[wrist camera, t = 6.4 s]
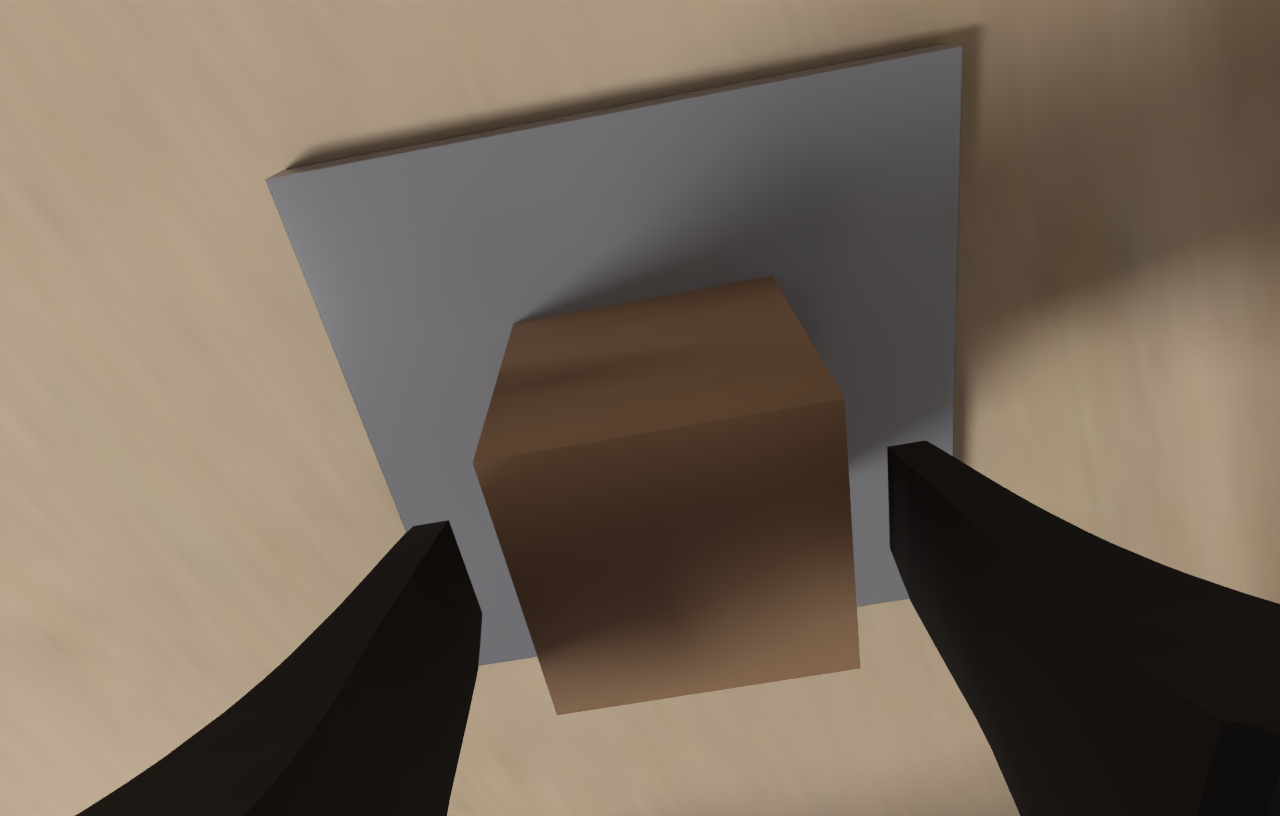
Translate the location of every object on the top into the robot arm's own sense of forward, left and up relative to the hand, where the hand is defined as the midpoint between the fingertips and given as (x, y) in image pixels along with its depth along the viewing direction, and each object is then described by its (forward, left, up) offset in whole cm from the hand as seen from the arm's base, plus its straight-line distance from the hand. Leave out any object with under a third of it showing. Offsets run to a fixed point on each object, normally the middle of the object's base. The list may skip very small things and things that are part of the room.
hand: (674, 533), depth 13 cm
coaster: (0, 0, -5) cm, 5 cm away
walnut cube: (0, 0, -4) cm, 4 cm away
